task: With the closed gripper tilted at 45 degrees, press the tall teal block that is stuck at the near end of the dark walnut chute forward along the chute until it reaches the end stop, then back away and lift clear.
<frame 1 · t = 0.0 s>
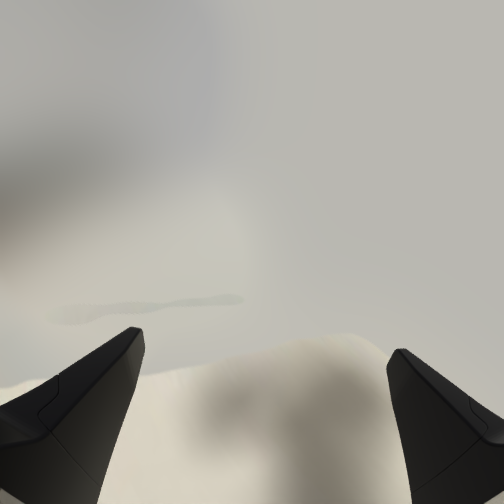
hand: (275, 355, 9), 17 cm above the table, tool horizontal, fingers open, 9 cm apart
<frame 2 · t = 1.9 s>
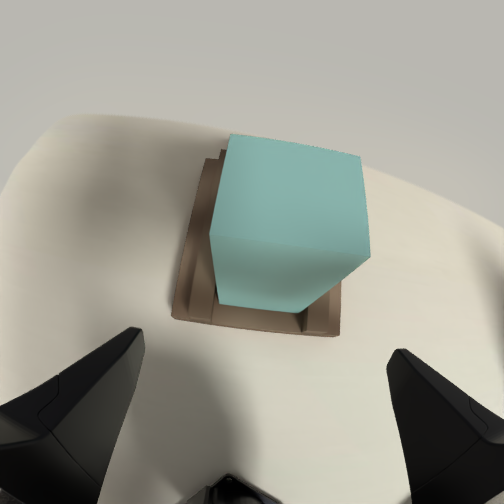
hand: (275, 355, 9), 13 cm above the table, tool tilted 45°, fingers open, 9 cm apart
jammed block: (274, 247, 16), point 8 cm above the table, slide at 0.0 cm
chute: (260, 282, 24), on the table
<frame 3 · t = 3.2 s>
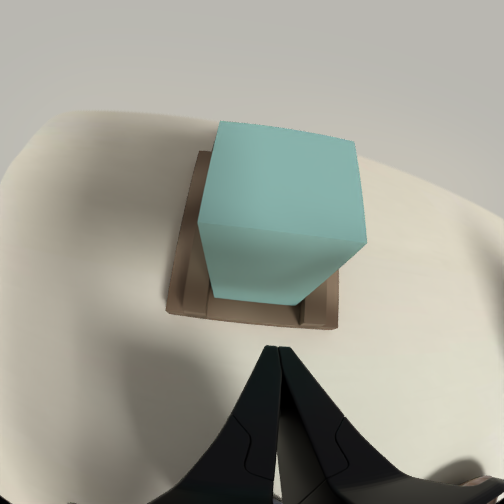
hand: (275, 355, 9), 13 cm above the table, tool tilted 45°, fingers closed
jammed block: (268, 237, 16), point 8 cm above the table, slide at 0.0 cm
chute: (256, 275, 23), on the table
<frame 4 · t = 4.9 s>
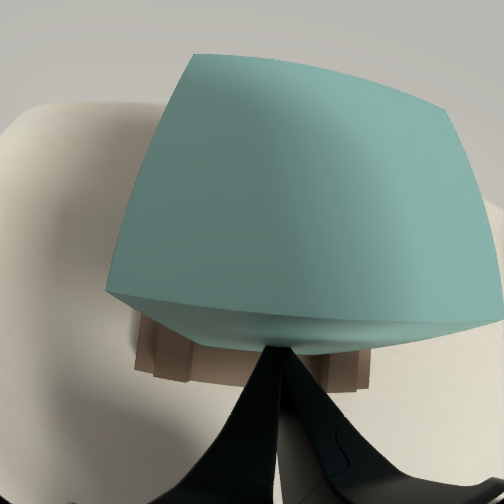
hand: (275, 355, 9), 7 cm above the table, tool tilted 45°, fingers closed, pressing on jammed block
jammed block: (283, 271, 10), point 8 cm above the table, slide at 0.5 cm, touching gripper
chute: (259, 318, 16), on the table
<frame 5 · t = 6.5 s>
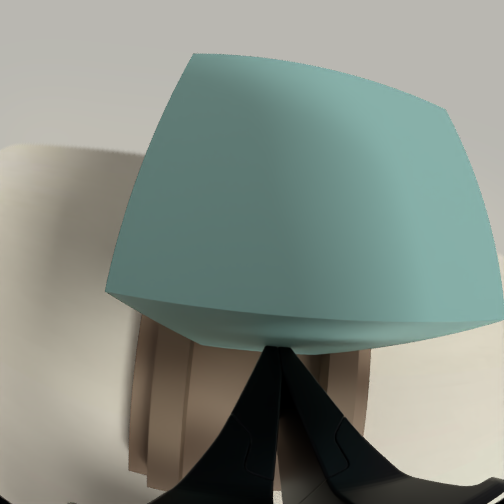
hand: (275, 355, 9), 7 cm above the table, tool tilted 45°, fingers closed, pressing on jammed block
jammed block: (283, 271, 10), point 8 cm above the table, slide at 6.8 cm, touching gripper
chute: (249, 423, 14), on the table
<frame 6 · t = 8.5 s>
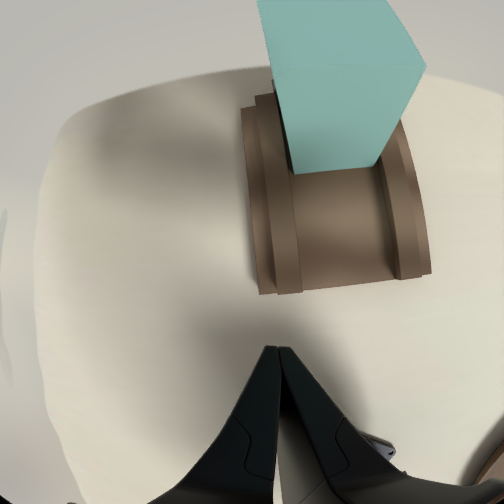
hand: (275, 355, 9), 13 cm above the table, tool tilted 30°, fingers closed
jammed block: (332, 97, 14), point 8 cm above the table, slide at 6.8 cm
chute: (341, 231, 21), on the table
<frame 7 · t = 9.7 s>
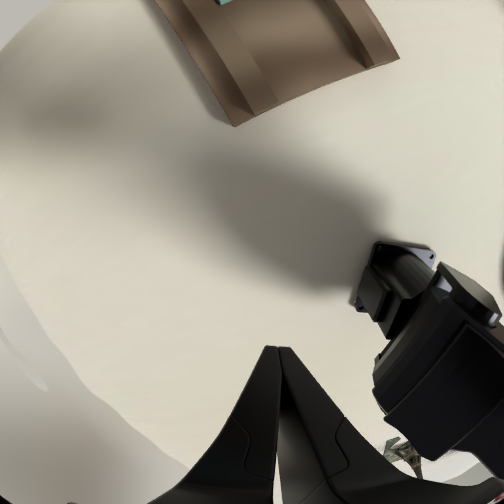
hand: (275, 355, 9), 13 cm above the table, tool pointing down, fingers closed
chute: (291, 41, 15), on the table
eiffel tower figurine: (406, 443, 38), on the table
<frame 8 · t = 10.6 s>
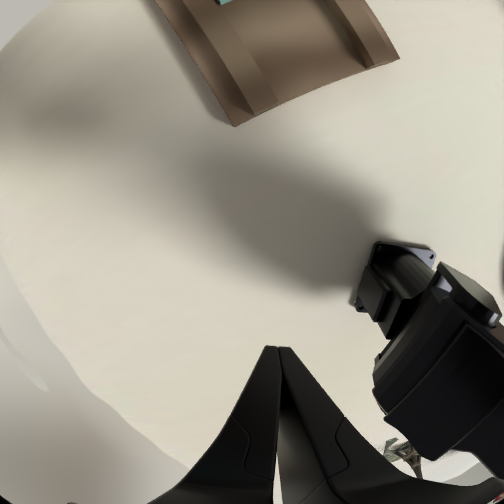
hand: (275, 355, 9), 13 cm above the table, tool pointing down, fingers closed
chute: (291, 41, 15), on the table
eiffel tower figurine: (406, 443, 38), on the table
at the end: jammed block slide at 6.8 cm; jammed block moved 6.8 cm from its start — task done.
